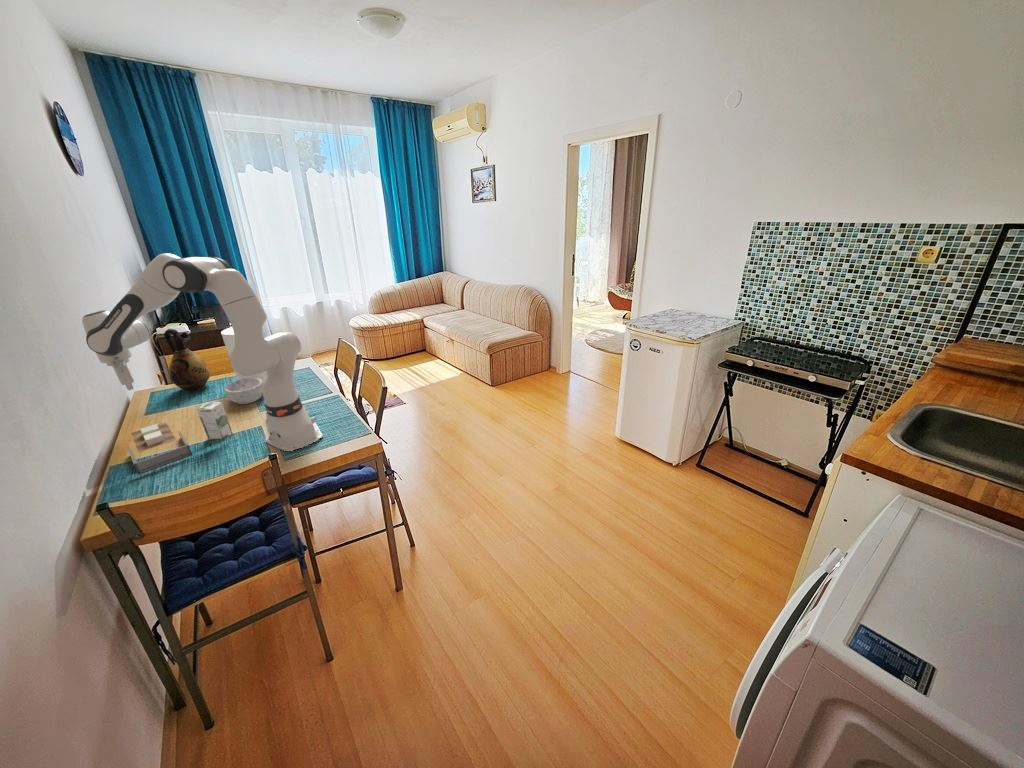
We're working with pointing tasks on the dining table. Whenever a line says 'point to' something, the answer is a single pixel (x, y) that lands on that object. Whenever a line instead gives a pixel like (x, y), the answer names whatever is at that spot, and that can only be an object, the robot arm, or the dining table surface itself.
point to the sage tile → (150, 429)
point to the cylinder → (229, 343)
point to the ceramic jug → (185, 364)
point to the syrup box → (214, 420)
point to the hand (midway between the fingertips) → (130, 388)
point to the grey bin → (162, 458)
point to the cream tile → (153, 438)
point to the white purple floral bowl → (244, 390)
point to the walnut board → (167, 437)
